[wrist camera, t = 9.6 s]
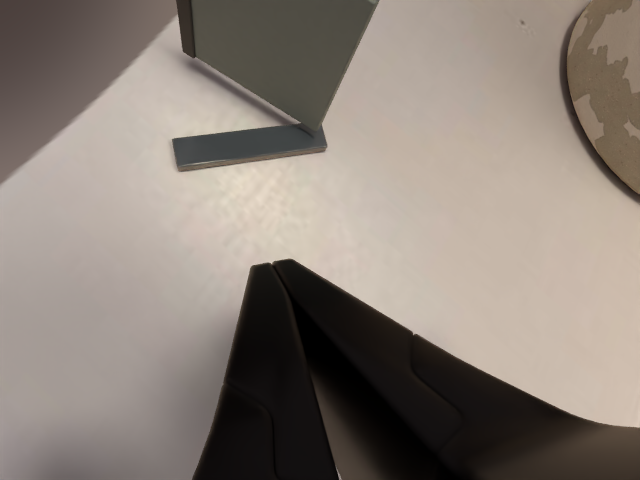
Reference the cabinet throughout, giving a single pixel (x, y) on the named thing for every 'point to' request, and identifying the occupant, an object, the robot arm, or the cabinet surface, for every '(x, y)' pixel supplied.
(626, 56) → the vase
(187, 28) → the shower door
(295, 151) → the dark grey flat bar
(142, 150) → the cabinet surface
